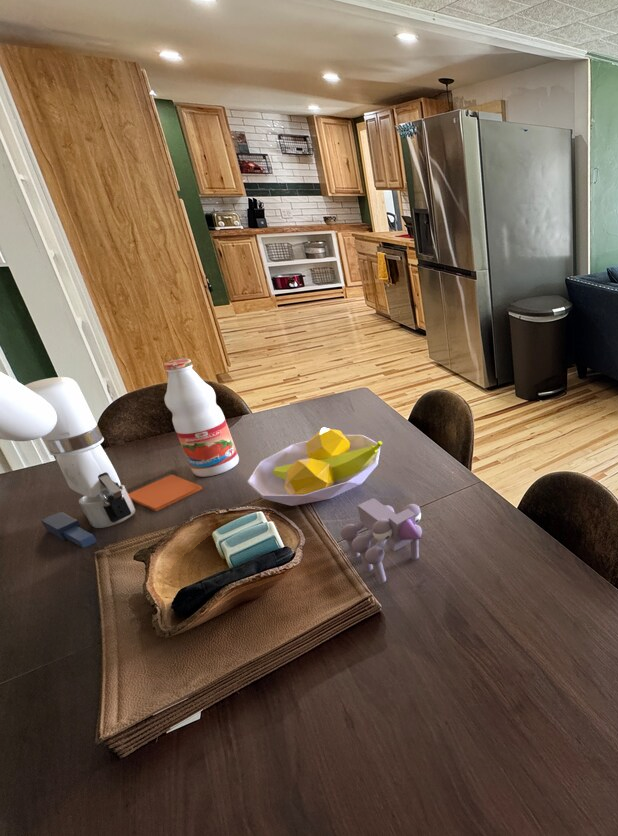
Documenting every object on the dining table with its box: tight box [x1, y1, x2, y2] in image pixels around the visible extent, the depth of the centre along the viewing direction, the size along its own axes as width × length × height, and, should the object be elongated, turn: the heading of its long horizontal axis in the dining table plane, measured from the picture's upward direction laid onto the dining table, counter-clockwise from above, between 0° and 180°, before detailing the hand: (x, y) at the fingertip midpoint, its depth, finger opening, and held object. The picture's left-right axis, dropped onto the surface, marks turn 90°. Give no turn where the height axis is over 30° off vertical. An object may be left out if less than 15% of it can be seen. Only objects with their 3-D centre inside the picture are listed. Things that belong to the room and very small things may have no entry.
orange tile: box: [128, 474, 203, 512], centre depth 107 cm, size 9×12×1 cm
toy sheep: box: [339, 497, 423, 585], centre depth 84 cm, size 20×11×14 cm, turn 53°
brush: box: [40, 511, 98, 549], centre depth 94 cm, size 3×14×3 cm, turn 66°
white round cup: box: [78, 484, 137, 529], centre depth 99 cm, size 7×7×6 cm
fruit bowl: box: [246, 427, 384, 507], centre depth 109 cm, size 28×27×11 cm
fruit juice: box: [163, 358, 240, 478], centre depth 112 cm, size 9×9×28 cm
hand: (111, 512), depth 99 cm, fingers closed on white round cup, 6 cm apart
